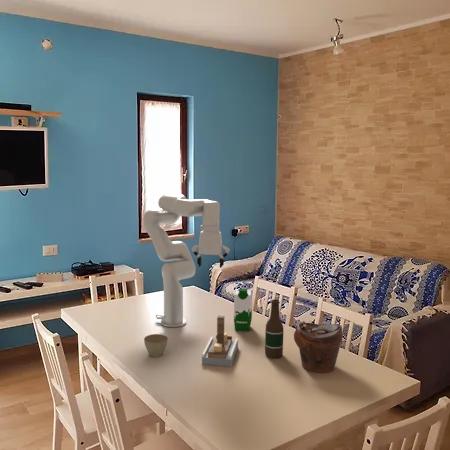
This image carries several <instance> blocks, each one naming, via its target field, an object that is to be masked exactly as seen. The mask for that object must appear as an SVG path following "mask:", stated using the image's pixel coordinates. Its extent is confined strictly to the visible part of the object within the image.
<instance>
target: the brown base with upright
mask: <svg viewBox="0 0 450 450" xmlns="http://www.w3.org/2000/svg"><path fill="white" fill-rule="evenodd" d="M216 324H217V325H216V336H215V338H214V339H215V341H214V343H213V345H212V347H211V349H210V351H208V357H214V358H225V357H226V355H227V352H228V350H229V347H230V345H231V342H232V341H233V336H232V335H227V340H226V342H224V333H225V315H217V317H216ZM215 343H218V344H222V352H214V344H215Z"/></svg>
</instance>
